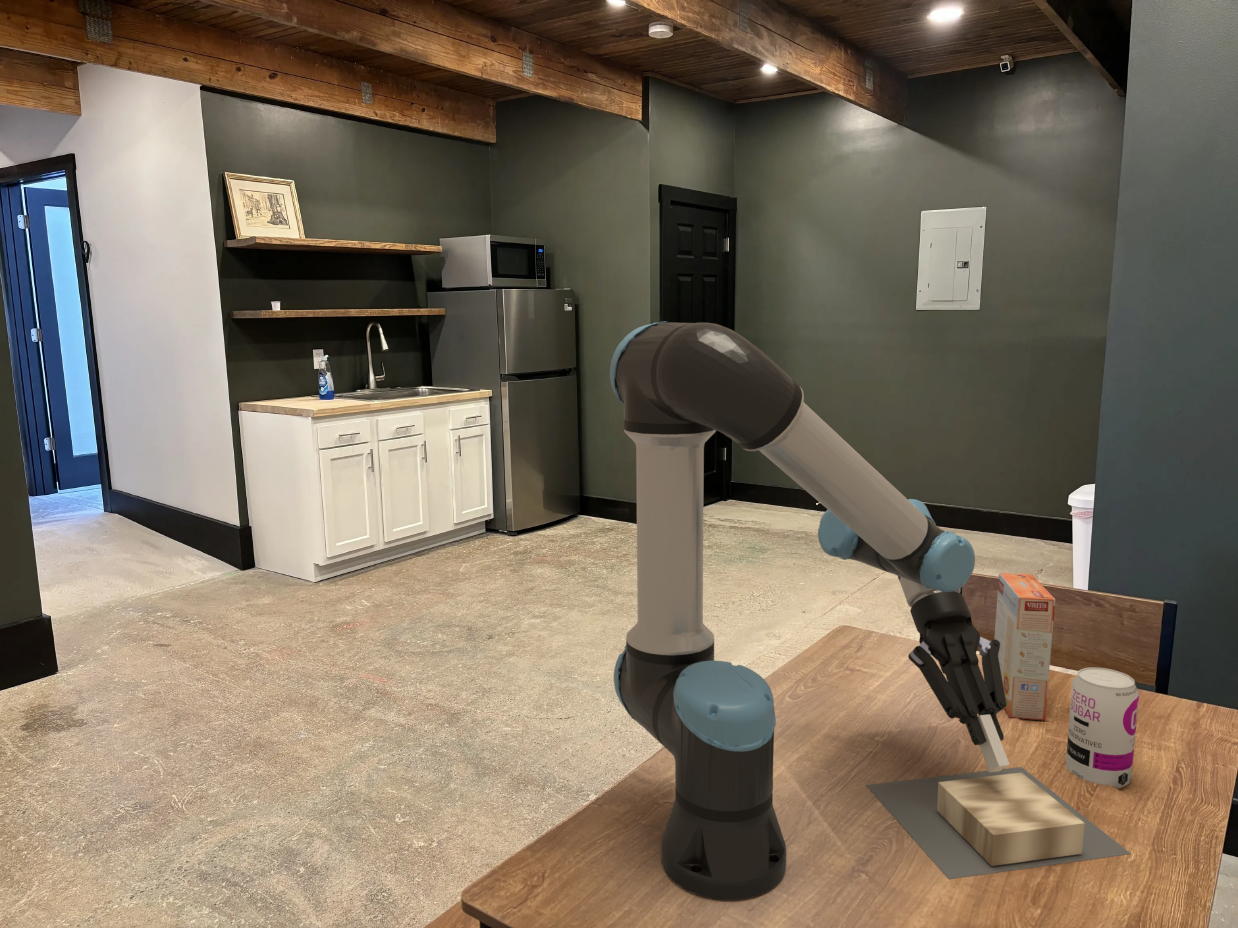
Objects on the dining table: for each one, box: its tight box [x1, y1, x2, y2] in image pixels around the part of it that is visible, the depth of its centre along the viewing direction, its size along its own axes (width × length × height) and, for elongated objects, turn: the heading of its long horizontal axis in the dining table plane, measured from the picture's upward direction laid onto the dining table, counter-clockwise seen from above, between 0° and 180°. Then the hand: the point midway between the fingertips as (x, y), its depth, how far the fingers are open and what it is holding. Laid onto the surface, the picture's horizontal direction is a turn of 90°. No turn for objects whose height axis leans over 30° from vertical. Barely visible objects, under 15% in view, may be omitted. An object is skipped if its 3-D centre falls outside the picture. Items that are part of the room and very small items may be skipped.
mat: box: [865, 766, 1132, 880], centre depth 114 cm, size 24×21×1 cm
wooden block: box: [937, 772, 1085, 866], centre depth 110 cm, size 12×4×12 cm
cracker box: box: [994, 572, 1056, 721], centre depth 147 cm, size 14×6×21 cm, turn 168°
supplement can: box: [1065, 666, 1140, 790], centre depth 124 cm, size 8×8×15 cm
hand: (999, 768), depth 111 cm, fingers closed
